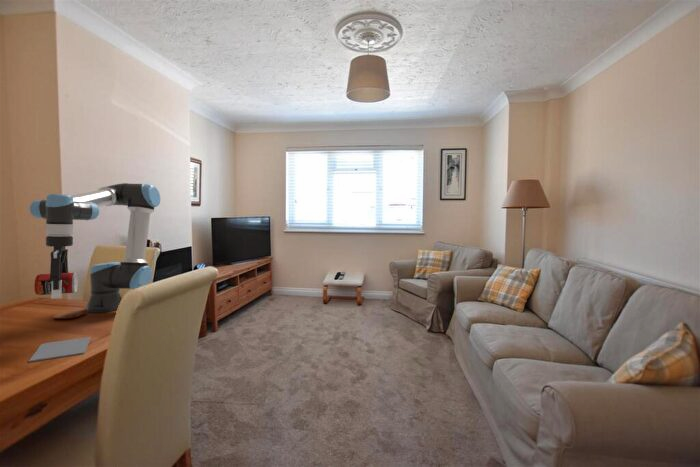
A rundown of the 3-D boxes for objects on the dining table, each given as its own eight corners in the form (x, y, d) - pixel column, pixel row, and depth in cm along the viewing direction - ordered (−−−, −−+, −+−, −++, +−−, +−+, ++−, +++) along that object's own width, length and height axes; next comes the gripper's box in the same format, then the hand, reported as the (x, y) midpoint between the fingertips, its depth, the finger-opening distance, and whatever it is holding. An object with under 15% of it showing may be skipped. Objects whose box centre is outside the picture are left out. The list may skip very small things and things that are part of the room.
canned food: (33, 282, 114) (73, 280, 120) (38, 269, 120) (77, 268, 126) (35, 299, 117) (75, 297, 123) (41, 286, 123) (78, 284, 129)
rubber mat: (41, 344, 118) (41, 343, 118) (90, 338, 126) (90, 337, 125) (28, 362, 104) (28, 360, 104) (84, 353, 112) (84, 352, 112)
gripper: (53, 234, 128) (53, 291, 129) (37, 237, 110) (37, 303, 111) (77, 234, 132) (77, 289, 133) (66, 237, 114) (66, 300, 115)
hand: (59, 295), depth 122 cm, fingers closed on canned food, 8 cm apart
